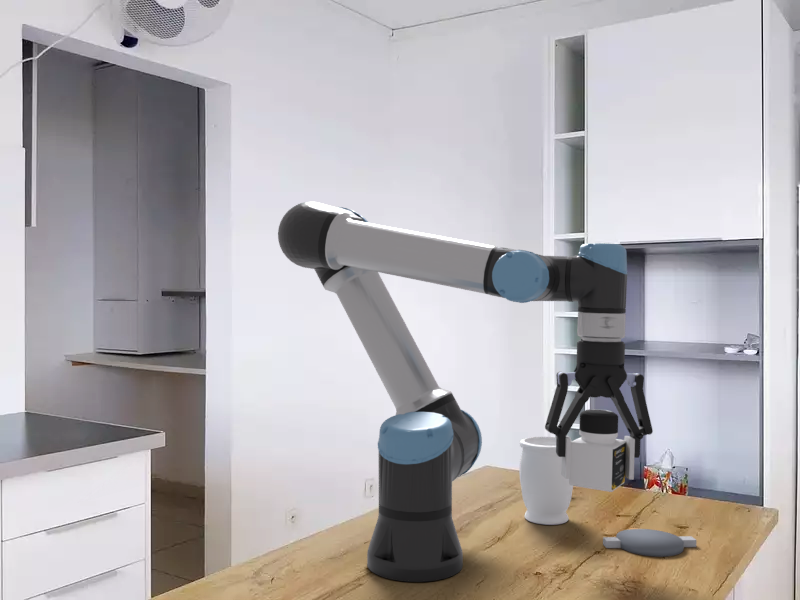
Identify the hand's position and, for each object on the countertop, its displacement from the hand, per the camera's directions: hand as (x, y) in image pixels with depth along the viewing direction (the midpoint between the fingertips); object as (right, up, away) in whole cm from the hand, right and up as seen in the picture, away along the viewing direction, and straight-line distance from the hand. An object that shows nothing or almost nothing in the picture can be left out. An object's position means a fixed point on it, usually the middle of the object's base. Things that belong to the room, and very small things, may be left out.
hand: (597, 477), depth 125 cm
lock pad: (+11, -14, +9) cm, 19 cm away
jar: (-4, -14, +23) cm, 27 cm away
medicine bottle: (0, -1, 0) cm, 1 cm away
